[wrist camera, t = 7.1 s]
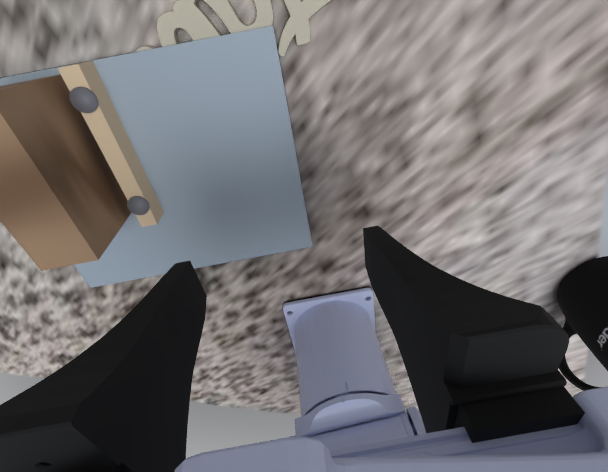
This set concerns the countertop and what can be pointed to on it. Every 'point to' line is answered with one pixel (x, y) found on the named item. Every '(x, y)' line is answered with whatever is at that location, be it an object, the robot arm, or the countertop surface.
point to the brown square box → (55, 177)
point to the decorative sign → (235, 21)
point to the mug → (586, 312)
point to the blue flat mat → (192, 153)
